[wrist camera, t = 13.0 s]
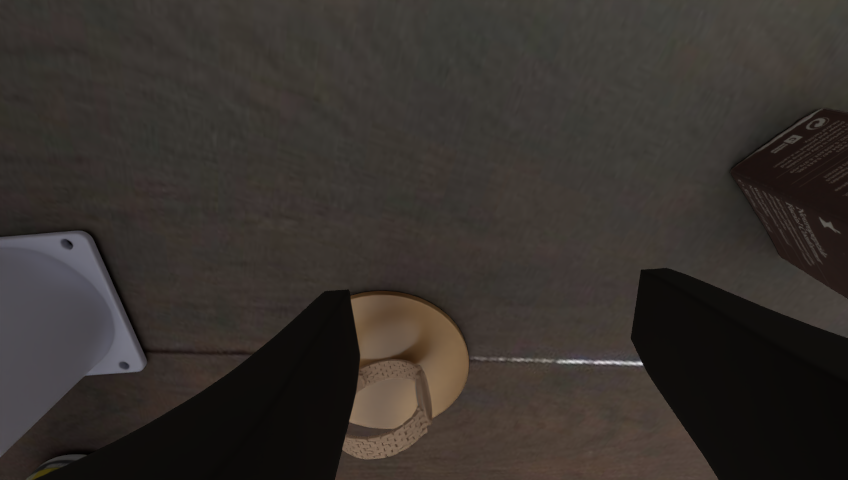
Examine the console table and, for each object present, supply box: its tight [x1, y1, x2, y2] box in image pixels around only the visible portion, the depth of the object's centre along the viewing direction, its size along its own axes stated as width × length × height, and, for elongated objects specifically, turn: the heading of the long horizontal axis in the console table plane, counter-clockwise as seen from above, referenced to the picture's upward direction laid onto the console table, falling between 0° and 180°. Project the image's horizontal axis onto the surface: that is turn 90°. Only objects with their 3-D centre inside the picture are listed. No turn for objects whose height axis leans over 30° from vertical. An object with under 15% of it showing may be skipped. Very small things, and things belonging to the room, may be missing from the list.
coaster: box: [349, 291, 469, 429], centre depth 23 cm, size 9×9×1 cm
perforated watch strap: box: [342, 359, 432, 459], centre depth 20 cm, size 3×5×5 cm, turn 103°
